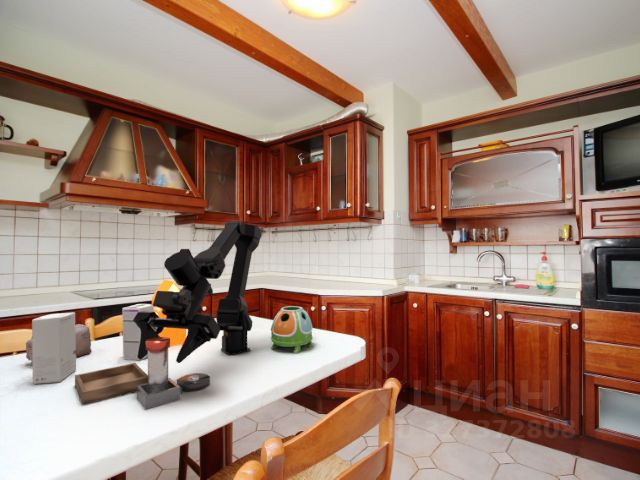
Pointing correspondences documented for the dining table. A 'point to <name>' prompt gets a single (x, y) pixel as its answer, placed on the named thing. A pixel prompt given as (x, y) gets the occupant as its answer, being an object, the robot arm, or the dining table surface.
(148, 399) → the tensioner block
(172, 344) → the orange juice
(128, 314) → the syrup box
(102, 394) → the tray
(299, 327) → the turtle holder
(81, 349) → the food item
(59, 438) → the dining table surface
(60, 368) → the skincare box
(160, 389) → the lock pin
